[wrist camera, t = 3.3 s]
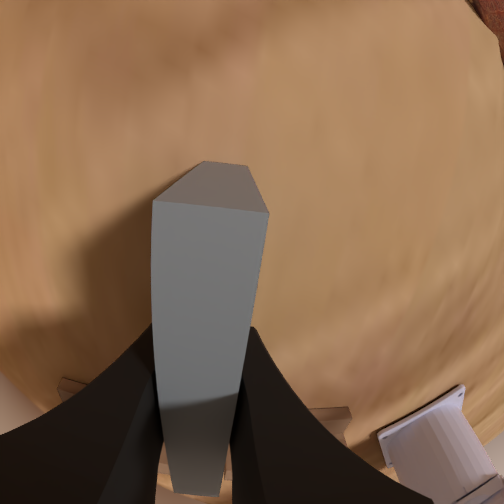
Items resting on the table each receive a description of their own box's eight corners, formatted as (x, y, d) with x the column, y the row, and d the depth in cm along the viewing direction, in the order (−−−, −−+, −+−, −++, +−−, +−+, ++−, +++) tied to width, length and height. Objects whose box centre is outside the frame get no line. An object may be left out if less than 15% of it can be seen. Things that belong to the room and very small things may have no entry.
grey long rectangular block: (220, 372, 14) (218, 496, 8) (189, 368, 14) (174, 492, 7) (247, 166, 10) (268, 213, 4) (203, 160, 10) (152, 200, 4)
